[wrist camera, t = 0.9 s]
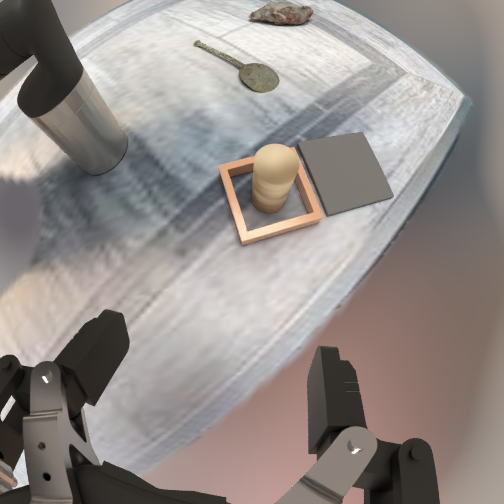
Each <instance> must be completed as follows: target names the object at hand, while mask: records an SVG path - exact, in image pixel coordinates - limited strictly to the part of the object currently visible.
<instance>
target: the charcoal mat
mask: <svg viewBox="0 0 504 504" xmlns="http://www.w3.org/2000/svg"><path fill="white" fill-rule="evenodd" d="M297 147H298V149H299V151H300V153H301V156H302V158H303V160H304V162H305V165H306V167H307V169H308V172H309V174H310V176H311V179H312V181H313V183H314V186H315V188H316V191H317V193H318V196H319V198H320V201H321V203H322V206H323V208H324V211H325V213H326V216H331V215H334V214H337V213H341V212H344V211H348V210H351V209H355V208H358V207H362V206H365V205H369V204H372V203H376V202H379V201H383V200H387V199H390V198H392V197H394V195H393V193H392V191H391V188H390V186H389V184H388V182H387V179H386V177H385V175H384V173H383V171H382V169H381V167H380V165H379V163H378V161H377V159H376V157H375V155H374V153H373V151H372V149H371V147H370V145H369V143H368V141H367V139H366V138H365V136H364V134H363V132H359V133H352V134H345V135H339V136H332V137H326V138H321V139H315V140H310V141H304V142H299V143H298V144H297Z"/></svg>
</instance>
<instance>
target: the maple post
mask: <svg viewBox="0 0 504 504" xmlns="http://www.w3.org/2000/svg"><path fill="white" fill-rule="evenodd" d="M298 170H299V160H298V157H297V156H296V154H295V153H294V152H293V151H292V150H291V149H290V148H288V147H286V146H284V145H281V144H269V145H266V146H264V147H262V148H261V149H259V150H258V152H257V153H256V155H255V157H254V166H253V179H252V192H251V200H252V203H253V205H254V206H255V207H256V208H257V209H258V210H259V211H261V212H264V213H275V212H277V211H279V210H280V209H281V208H282V207H283V206H284V204H285V201H286V199H287V197H288V194H289V192H290V189H291V187H292V185H293V182H294V180H295V177H296V175H297V172H298Z"/></svg>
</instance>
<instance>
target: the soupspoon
mask: <svg viewBox="0 0 504 504" xmlns="http://www.w3.org/2000/svg"><path fill="white" fill-rule="evenodd" d="M193 45H194V46H200V47H203V48H206V49H208V50H211V51H213V52H215V53H217V54H219V55H221V56H223V57H225V58H227V59H228V60H230V61H232V62H233V63H235V64H237V65H238V66H240V67H241V68H240V70H239V74H240V77H241V79H242V80H243V82H244V83H245V84H247V85H248V86H249V87H250V88H251V89H253V90H254V91H257V92H261V93H265V92H269V91H271V90H273V89H275V88H276V87H277V86H278V84H279V77H278V75H277V74H276V73H275V72H274V71H273V70H272V69H271V68H270V67H268V66H266V65H263V64H258V63H251V64H246V65H245V64H243V63H241V62H240V61H238V60H236V59H234V58H233V57H231V56H229V55H227V54H224V53H222V52H220V51H218V50H215V49H213V48H211V47H209V46H206V44H203V43H201V42H200V40H197V41H195V42H194V44H193Z"/></svg>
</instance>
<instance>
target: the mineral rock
mask: <svg viewBox="0 0 504 504" xmlns="http://www.w3.org/2000/svg"><path fill="white" fill-rule="evenodd" d="M312 14H313V10H312V9H311V8H309V7H308V6H307V7H306V6H302V7H299V6H295V5H292V4H289V3H275V2H272V1H271V2H270V3H269V4H267V6H265V7H263V8H261V9H258V10H257V11H255V12H252V13H251V15H250V16H249V18H251V19H254V20H259V21H264V20H267V21H269V22H274V24H276V25H283V24H295V25H297V24H301V23H304V22H305V21H306V20H307V19H308V18H309V17H311V15H312Z"/></svg>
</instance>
